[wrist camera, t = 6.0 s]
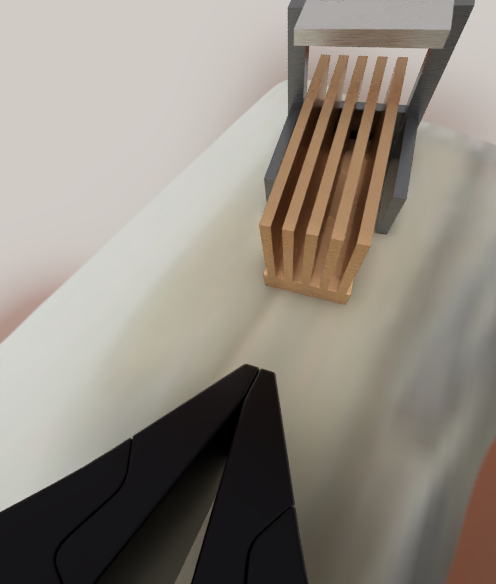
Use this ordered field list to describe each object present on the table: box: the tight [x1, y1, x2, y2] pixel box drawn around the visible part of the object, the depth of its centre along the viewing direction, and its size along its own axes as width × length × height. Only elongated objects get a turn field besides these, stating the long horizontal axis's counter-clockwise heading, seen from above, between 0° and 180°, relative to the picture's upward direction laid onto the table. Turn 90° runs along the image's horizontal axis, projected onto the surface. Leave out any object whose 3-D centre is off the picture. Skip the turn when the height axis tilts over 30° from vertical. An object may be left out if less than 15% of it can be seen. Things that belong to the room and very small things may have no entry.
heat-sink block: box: [259, 55, 408, 304], centre depth 19 cm, size 14×6×8 cm, turn 162°
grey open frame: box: [264, 0, 475, 234], centre depth 19 cm, size 9×10×10 cm
